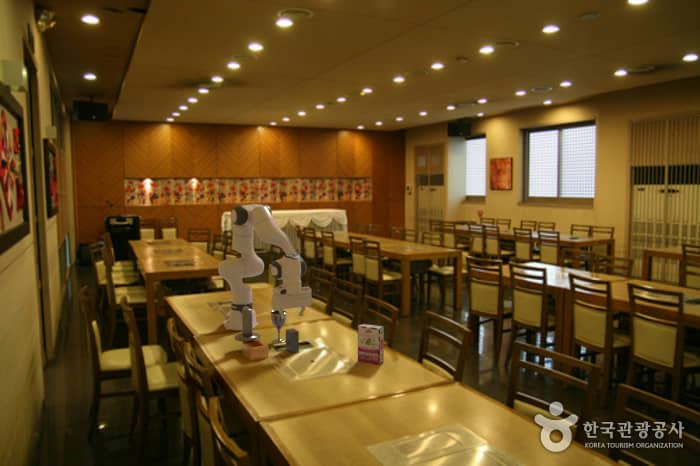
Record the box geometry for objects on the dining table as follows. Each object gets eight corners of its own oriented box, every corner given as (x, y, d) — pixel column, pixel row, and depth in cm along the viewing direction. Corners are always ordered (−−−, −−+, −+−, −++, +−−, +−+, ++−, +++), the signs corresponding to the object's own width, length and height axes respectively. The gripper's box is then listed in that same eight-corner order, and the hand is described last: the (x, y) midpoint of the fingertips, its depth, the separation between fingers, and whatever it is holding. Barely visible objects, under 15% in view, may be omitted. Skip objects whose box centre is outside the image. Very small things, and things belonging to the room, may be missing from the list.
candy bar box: (384, 361, 242) (384, 326, 241) (379, 364, 238) (379, 328, 236) (362, 357, 247) (362, 323, 246) (357, 361, 243) (357, 325, 241)
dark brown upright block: (285, 349, 259) (285, 329, 258) (293, 348, 261) (293, 328, 260) (291, 353, 254) (291, 332, 253) (298, 351, 256) (298, 331, 255)
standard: (231, 348, 260) (230, 308, 258) (254, 344, 266) (254, 305, 264) (247, 361, 242) (246, 317, 240) (271, 356, 248) (271, 314, 246)
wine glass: (288, 338, 277) (288, 310, 275) (284, 343, 269) (284, 314, 267) (273, 338, 277) (272, 310, 276) (269, 342, 270) (269, 313, 268)
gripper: (308, 285, 262) (308, 313, 264) (269, 289, 252) (270, 318, 253) (314, 287, 257) (314, 315, 258) (274, 291, 246) (275, 321, 248)
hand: (292, 317), depth 256 cm, fingers open, 8 cm apart
